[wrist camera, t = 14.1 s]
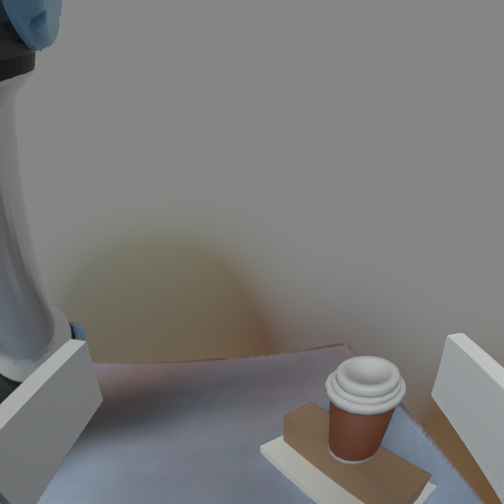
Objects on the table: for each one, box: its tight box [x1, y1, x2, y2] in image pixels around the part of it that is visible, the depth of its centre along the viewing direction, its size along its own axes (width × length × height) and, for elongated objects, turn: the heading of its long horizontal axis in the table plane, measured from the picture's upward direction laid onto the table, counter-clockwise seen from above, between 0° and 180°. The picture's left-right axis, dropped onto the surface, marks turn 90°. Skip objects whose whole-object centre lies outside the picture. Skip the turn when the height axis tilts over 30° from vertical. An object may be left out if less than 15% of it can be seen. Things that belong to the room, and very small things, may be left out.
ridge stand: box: [260, 402, 437, 504], centre depth 33 cm, size 24×12×7 cm, turn 33°
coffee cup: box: [325, 356, 406, 465], centre depth 31 cm, size 9×9×12 cm
